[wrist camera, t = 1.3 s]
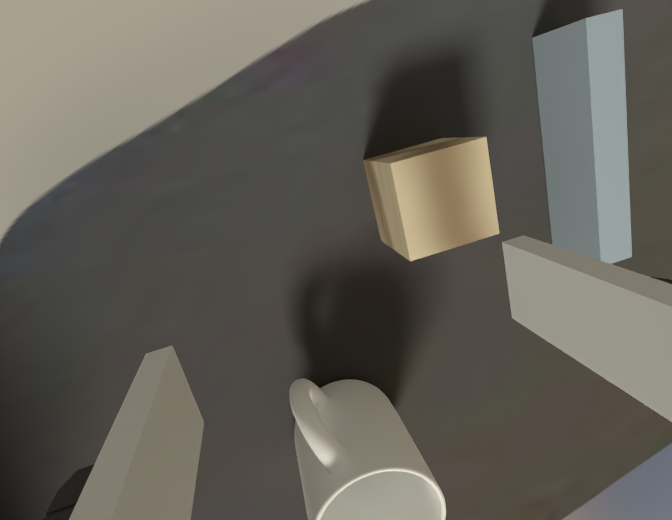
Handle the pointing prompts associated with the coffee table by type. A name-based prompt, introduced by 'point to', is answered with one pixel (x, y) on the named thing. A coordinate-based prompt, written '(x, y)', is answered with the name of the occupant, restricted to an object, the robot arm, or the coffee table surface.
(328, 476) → the mug
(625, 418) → the coffee table surface
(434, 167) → the block
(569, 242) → the board
